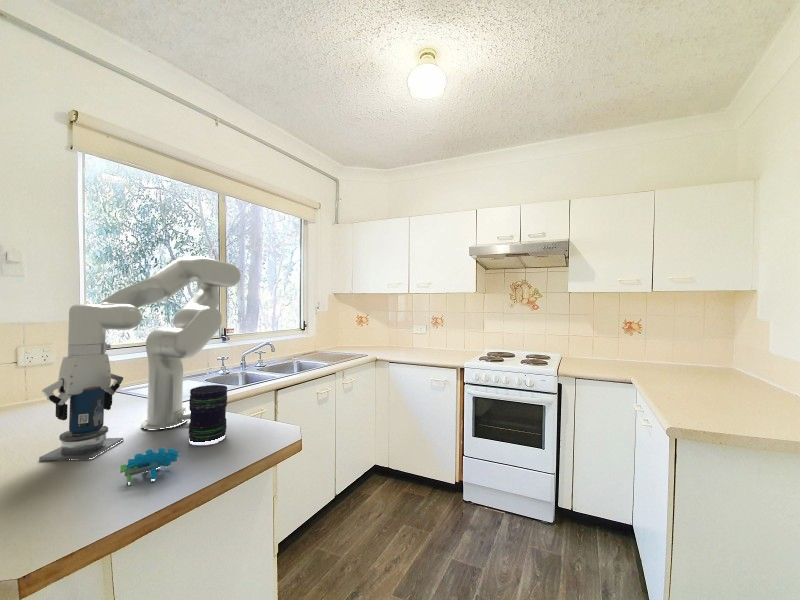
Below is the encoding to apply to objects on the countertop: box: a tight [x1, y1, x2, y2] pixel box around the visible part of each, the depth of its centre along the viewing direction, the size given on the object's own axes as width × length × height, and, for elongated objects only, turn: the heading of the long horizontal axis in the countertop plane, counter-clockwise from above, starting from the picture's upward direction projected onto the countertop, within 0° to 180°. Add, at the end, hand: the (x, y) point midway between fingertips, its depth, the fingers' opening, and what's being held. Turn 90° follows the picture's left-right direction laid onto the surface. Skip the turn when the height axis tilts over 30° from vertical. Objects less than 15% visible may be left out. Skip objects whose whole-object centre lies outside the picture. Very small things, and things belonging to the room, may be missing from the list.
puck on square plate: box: [38, 425, 124, 462], centre depth 95 cm, size 12×12×5 cm
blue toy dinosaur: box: [119, 447, 180, 483], centre depth 81 cm, size 11×6×10 cm
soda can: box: [68, 386, 105, 435], centre depth 95 cm, size 7×7×12 cm
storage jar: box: [187, 384, 228, 442], centre depth 104 cm, size 10×10×15 cm
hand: (85, 413), depth 95 cm, fingers open, 9 cm apart
